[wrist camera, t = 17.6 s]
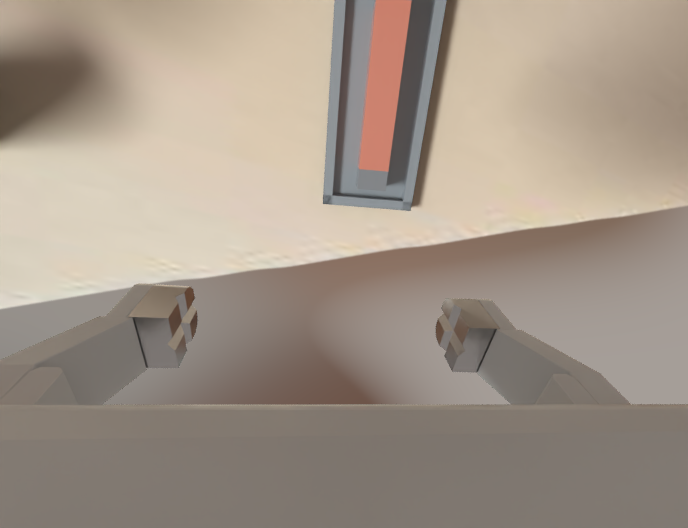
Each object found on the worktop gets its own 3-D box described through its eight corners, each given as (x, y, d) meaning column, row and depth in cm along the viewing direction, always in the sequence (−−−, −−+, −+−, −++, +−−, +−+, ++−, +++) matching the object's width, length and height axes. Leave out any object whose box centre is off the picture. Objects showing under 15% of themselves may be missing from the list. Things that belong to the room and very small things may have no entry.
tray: (323, 200, 36) (322, 203, 35) (339, -74, 27) (339, -86, 26) (407, 207, 37) (410, 210, 35) (452, -61, 27) (458, -72, 26)
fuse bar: (355, 184, 35) (357, 188, 32) (375, -18, 28) (379, -35, 25) (382, 186, 35) (385, 191, 33) (408, -15, 28) (415, -30, 25)
